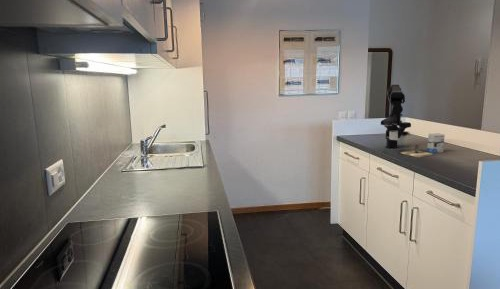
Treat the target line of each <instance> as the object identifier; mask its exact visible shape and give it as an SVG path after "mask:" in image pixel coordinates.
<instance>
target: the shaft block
mask: <svg viewBox="0 0 500 289" xmlns="http://www.w3.org/2000/svg"><path fill="white" fill-rule="evenodd" d="M414 145H415V146H414V149H411V150H405V151H400V154H402V155H405V156H412V157H416V158H424V157H430V156H434V153H430V152H427V151H422V150H419V149H420V144H419V143H415V144H414Z"/></svg>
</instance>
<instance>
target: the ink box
mask: <svg viewBox="0 0 500 289" xmlns="http://www.w3.org/2000/svg"><path fill="white" fill-rule="evenodd" d="M427 136H428V137H427V148H426V152H428V153H433V154H440V153H444V146H445V145H444V144H445V134H444V133H439V132H438V133H437V132H436V133H435V132H434V133H429V134H428V135H427Z"/></svg>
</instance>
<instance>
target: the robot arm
mask: <svg viewBox="0 0 500 289" xmlns="http://www.w3.org/2000/svg"><path fill="white" fill-rule="evenodd" d="M386 94H387V99H388V102H389V104H390V108H389V115H388V117H386V118H384V119H383V120H381V121H380V126H381V125H382V126H384V128H386V130H385V137H384V138H385V140H386V145H385V146H384V148H387V149H392V150H393V149H399V146H398V140H390V139H389V133H390V131H398V138H400V139H401V136H402V135H403V133H404V132H405V130H406V129H408V128H411V127H412V124H411V122H408V121H404V122H403V120H402V117H403V114H402V112H403V110H404V109H403V106H402V104H405V102H406V96H405V93H404V92H403V91H402V87H400V84H392V85H391V84H390V86H389V87H388V88H387V93H386ZM398 126H399V127H398Z"/></svg>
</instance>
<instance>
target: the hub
mask: <svg viewBox="0 0 500 289" xmlns="http://www.w3.org/2000/svg"><path fill="white" fill-rule="evenodd" d="M389 139H390V140H397V141H400V140H401V137H400V138H398V131H390V133H389Z"/></svg>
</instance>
